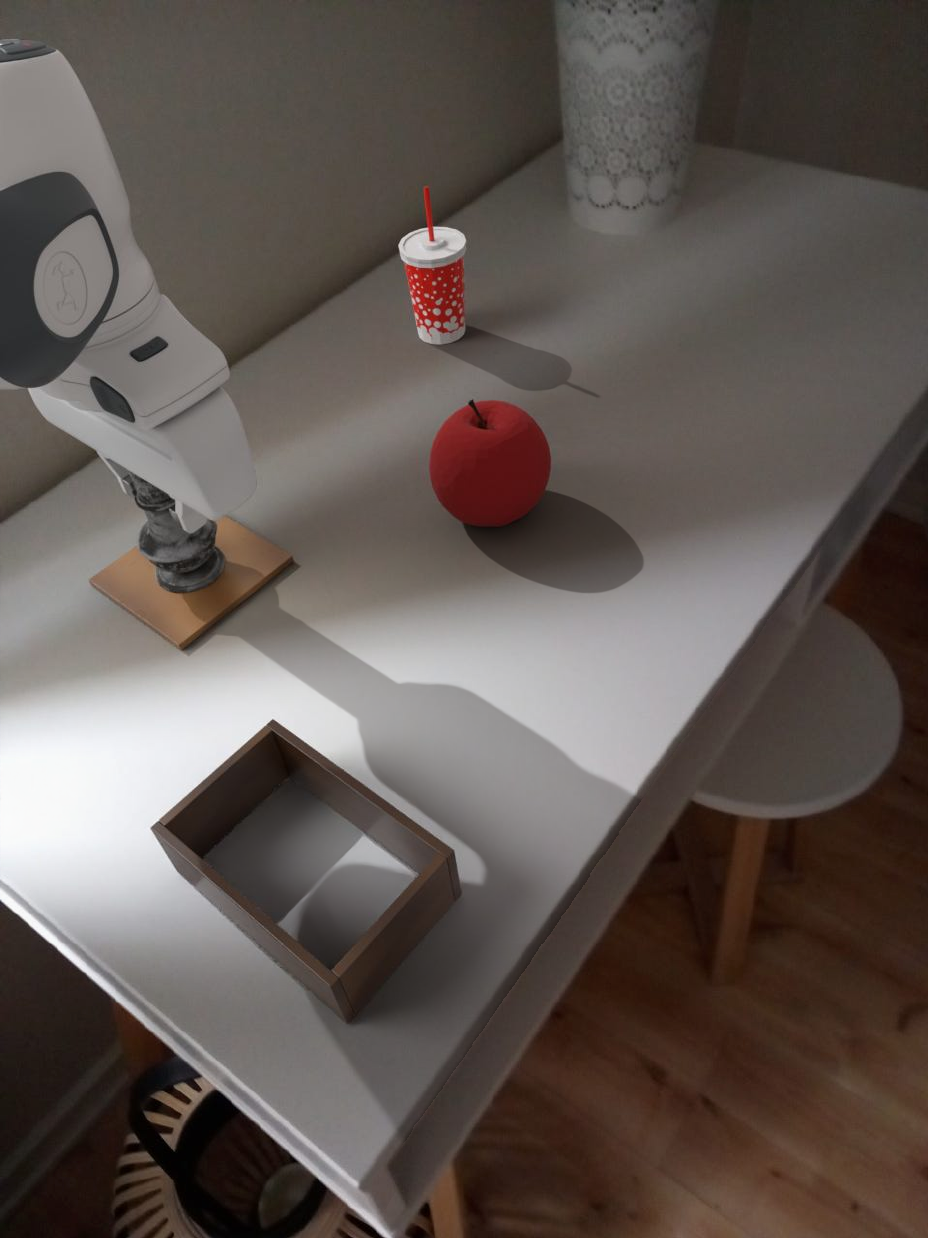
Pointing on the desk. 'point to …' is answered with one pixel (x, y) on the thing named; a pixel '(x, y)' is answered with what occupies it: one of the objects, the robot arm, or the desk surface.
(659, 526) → the desk surface
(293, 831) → the desk surface
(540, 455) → the apple
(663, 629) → the desk surface
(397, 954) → the open wooden box
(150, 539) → the grey stone turned piece
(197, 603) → the trivet
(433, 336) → the beverage cup
